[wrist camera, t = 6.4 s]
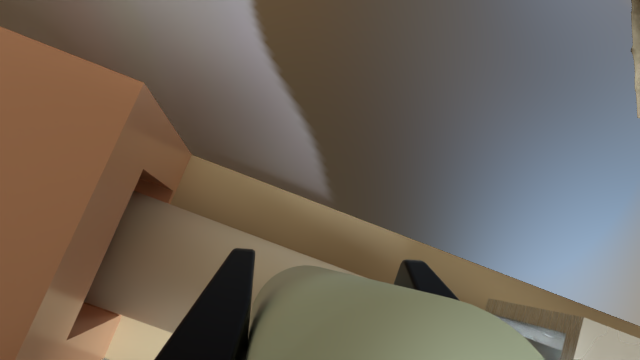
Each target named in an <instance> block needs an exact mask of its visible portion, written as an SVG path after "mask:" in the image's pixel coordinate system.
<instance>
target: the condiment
mask: <svg viewBox="0 0 640 360" xmlns="http://www.w3.org/2000/svg"><path fill="white" fill-rule="evenodd" d="M631 1H632V12H631V20H632V37H633V46H632V48H631V52H632V54H633V58H634V65H635V91H636V99H637V117H638V118H640V0H631Z"/></svg>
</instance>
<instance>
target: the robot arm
mask: <svg viewBox="0 0 640 360" xmlns="http://www.w3.org/2000/svg"><path fill="white" fill-rule="evenodd" d="M254 265H255V250H253V249H244V248H235V249H233V250H232V251H231V252H230V254H229V255H228V257H227V258H226V259H225V261H224V262H223V264H222V265H221V266H220V268H219V269H218V271H217V272H216V273H215V275H214V276H213V278H212V279H211V280H210V282H209V283H208V285H207V286H206V287H205V289H204V290H203V292H202V293H201V294H200V296H199V297H198V299H197V300H196V301H195V303H194V304H193V306H192V307H191V308H190V310H189V311H188V313H187V314H186V316H185V317H184V318H183V320H182V321H181V323H180V324H179V325H178V327H177V328H176V330H175V331H174V332H173V334H172V335H171V337H170V338H169V339H168V341H167V342H166V344H165V345H164V346H163V348H162V349H161V351H160V352H159V353H158V355H157V356H156V358H155V359H154V360H246V356H247V345H248V335H249V323H250V311H251V300H252V288H253V276H254ZM393 285H397V286H402V287H406V288H410V289H414V290H418V291H423V292H427V293H431V294H435V295H440V296H444V297H448V298H452V299H455V300H458V301H460V300H459V299H458V298H457V297H456V296H455V294H454V293H453V292H452V291H451V290H450V289H449V288H448V287H447V286H446V285H445V283H444V282H443V281H442V280H441V279H440V278H439V277H438V276H437V275H436V274H435V272H434V271H433V270H432V269H431V268H430V267H429V266H428V265H427V264H426V263H425V262H424V261H421V260H409V259H406V260H403V261H402V262H401V264H400V267H399V270H398V273H397V276H396V278H395V281H394V284H393Z"/></svg>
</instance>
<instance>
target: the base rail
mask: <svg viewBox="0 0 640 360" xmlns="http://www.w3.org/2000/svg"><path fill="white" fill-rule="evenodd" d="M171 205H173V206H176V207H179V208H181V209H184V210H187V211H189V212H192V213H195V214H197V215H200V216H203V217H205V218H208V219H211V220H213V221H216V222H219V223H221V224H224V225H227V226H229V227H232V228H235V229H237V230H240V231H243V232H245V233H248V234H251V235H254V236H256V237H259V238H262V239H264V240H267V241H270V242H272V243H275V244H278V245H280V246H283V247H286V248H288V249H291V250H294V251H296V252H299V253H302V254H304V255H307V256H310V257H312V258H315V259H318V260H320V261H323V262H326V263H328V264H331V265H334V266H336V267H339V268H342V269H344V270H347V271H350V272H352V273H355V274H358V275H360V276H363V277H366V278H368V279H372V280H376V281H381V282H385V283H389V284H394V281H395V278H396V276H397V273H398V270H399V267H400V264H401V262H402V261H403V260H406V259H409V260H421V261H424V262H425V263H426V264H427V265H428V266H429V267H430V268H431V269H432V270H433V271H434V272H435V274H436V275H437V276H438V277H439V278H440V279H441V280H442V281H443V282H444V283H445V285H446V286H447V287H448V288H449V289H450V290H451V291H452V292H453V293H454V294H455V296H456V297H457V298H458V299H459V300H460V301H462V302H465V303H468V304H472V305H474V306H476V307H478V308H480V309H483V310H485V308H486V305H487V301H488V298H490V299H495V300H500V301H505V302H510V303H515V304H520V305H525V306H530V307H535V308H540V309H545V310H550V311H555V312H560V313H565V314H570V315H575V316H580V317H584V318H587V319H590V320H592V321H595V322H598V323H600V324H603V325H605V326H608V327H611V328H613V329H616V330H619V331H621V332H624V333H626V334H629V335H632V336H634V337H637V338H640V326H637V325H635V324H632V323H630V322H627V321H624V320H622V319H619V318H617V317H614V316H611V315H609V314H606V313H603V312H601V311H598V310H596V309H593V308H590V307H587V306H585V305H582V304H580V303H577V302H575V301H572V300H570V299H567V298H564V297H562V296H559V295H557V294H554V293H551V292H549V291H546V290H544V289H541V288H538V287H536V286H533V285H531V284H528V283H525V282H523V281H520V280H517V279H515V278H512V277H510V276H507V275H504V274H502V273H499V272H497V271H494V270H491V269H489V268H486V267H484V266H481V265H478V264H475V263H473V262H470V261H468V260H465V259H463V258H460V257H457V256H455V255H452V254H450V253H447V252H444V251H442V250H439V249H437V248H434V247H431V246H429V245H426V244H424V243H421V242H418V241H416V240H413V239H410V238H408V237H405V236H403V235H400V234H398V233H395V232H392V231H390V230H387V229H384V228H382V227H379V226H377V225H374V224H371V223H369V222H366V221H363V220H361V219H358V218H356V217H353V216H351V215H348V214H345V213H343V212H340V211H338V210H335V209H332V208H330V207H327V206H324V205H322V204H319V203H317V202H314V201H311V200H309V199H306V198H304V197H301V196H298V195H296V194H293V193H291V192H288V191H285V190H283V189H280V188H278V187H275V186H272V185H270V184H267V183H264V182H262V181H259V180H257V179H254V178H251V177H249V176H246V175H244V174H241V173H238V172H236V171H233V170H231V169H228V168H225V167H223V166H220V165H218V164H215V163H212V162H210V161H207V160H204V159H202V158H199V157H197V156H194V155H191V157H190V160H189V162H188V164H187V167H186V169H185V171H184V174H183V176H182V178H181V181H180V183H179V185H178V188H177V190H176V192H175V194H174V197H173V199H172V201H171ZM172 334H173V333H170V332H168V331H165V330H162V329H159V328H156V327H153V326H151V325H148V324H145V323H142V322H139V321H137V320H134V319H131V318H128V317H125V316H122V317H121V320H120V322H119V324H118V327H117V329H116V331H115V334H114V336H113V338H112V341H111V343H110V345H109V348H108V350H107V352H106V354H105V357H104V358H107V359H110V360H154V359H155V358H156V356H157V355H158V353H159V352H160V351H161V349H162V348H163V346H164V345H165V344H166V342H167V341H168V339H169V338H170V337H171V335H172Z"/></svg>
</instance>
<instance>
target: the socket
mask: <svg viewBox="0 0 640 360" xmlns="http://www.w3.org/2000/svg"><path fill="white" fill-rule="evenodd" d="M191 155H192V154H191V153H190V151H189V150H188V148H187V147H186V145H185V144H184V142H183V141H182V139H181V138H180V136H179V135H178V133H177V132H176V130H175V129H174V127H173V126H172V124H171V123H170V121H169V120H168V118H167V117H166V115H165V114H164V112H163V111H162V109H161V107H160V106H159V104H158V103H157V101H156V100H155V98H154V97H153V95H152V94H151V92H150V91H149V89H148V88H147V86H146V85H145V83H143V82H141V81H138V80H136V79H133V78H130V77H128V76H125V75H123V74H120V73H118V72H115V71H113V70H110V69H107V68H105V67H102V66H100V65H97V64H95V63H92V62H90V61H87V60H85V59H82V58H79V57H77V56H74V55H72V54H69V53H67V52H64V51H62V50H59V49H56V48H54V47H51V46H49V45H46V44H44V43H41V42H39V41H36V40H33V39H31V38H28V37H26V36H23V35H21V34H18V33H16V32H13V31H10V30H8V29H5V28H3V27H0V360H101V359H103V358H104V357H105V354H106V352H107V350H108V348H109V345H110V343H111V341H112V338H113V336H114V334H115V331H116V329H117V327H118V324H119V322H120V320H121V317H122V315H120V314H117V313H114V312H111V311H108V310H105V309H103V308H100V307H97V306H94V305H91V304H89V303H86V302H84V300H85V298H86V296H87V293H88V291H89V289H90V287H91V285H92V282H93V280H94V278H95V276H96V273H97V271H98V269H99V267H100V264H101V262H102V260H103V258H104V256H105V253H106V251H107V249H108V247H109V244H110V242H111V240H112V238H113V236H114V233H115V231H116V229H117V227H118V224H119V222H120V220H121V218H122V216H123V213H124V211H125V209H126V207H127V204H128V202H129V200H130V198H131V195H132V193H133V191H136V192H139V193H141V194H144V195H147V196H149V197H152V198H155V199H157V200H160V201H163V202H165V203H168V204H171V201H172V199H173V197H174V194H175V192H176V190H177V188H178V185H179V183H180V181H181V178H182V176H183V174H184V171H185V169H186V167H187V164H188V162H189V160H190V157H191Z"/></svg>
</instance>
